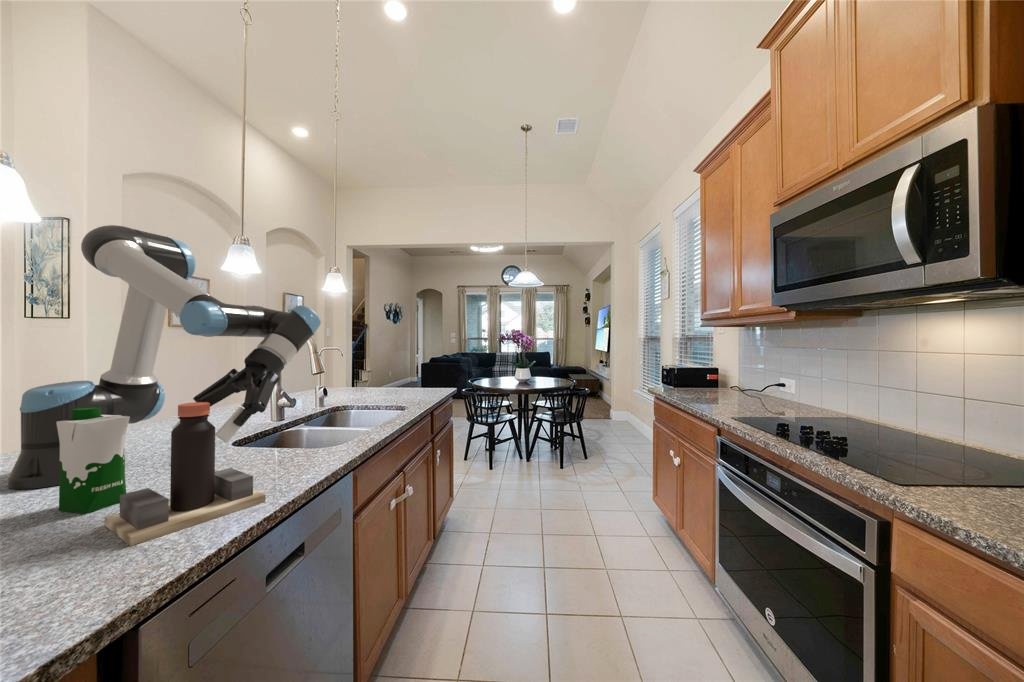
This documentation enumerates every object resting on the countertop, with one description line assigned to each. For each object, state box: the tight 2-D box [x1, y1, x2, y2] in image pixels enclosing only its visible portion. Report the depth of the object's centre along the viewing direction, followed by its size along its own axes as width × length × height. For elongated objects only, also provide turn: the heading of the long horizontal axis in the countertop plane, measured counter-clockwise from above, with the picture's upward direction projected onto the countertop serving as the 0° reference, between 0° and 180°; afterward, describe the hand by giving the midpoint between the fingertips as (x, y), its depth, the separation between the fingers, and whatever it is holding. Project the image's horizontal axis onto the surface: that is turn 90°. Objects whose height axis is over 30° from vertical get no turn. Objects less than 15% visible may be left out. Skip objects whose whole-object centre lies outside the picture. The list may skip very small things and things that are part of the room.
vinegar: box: [169, 401, 216, 511], centre depth 77 cm, size 7×7×20 cm
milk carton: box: [56, 407, 130, 515], centre depth 80 cm, size 9×9×20 cm
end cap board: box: [104, 467, 267, 547], centre depth 77 cm, size 14×21×6 cm, turn 149°
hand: (198, 435), depth 77 cm, fingers open, 13 cm apart
